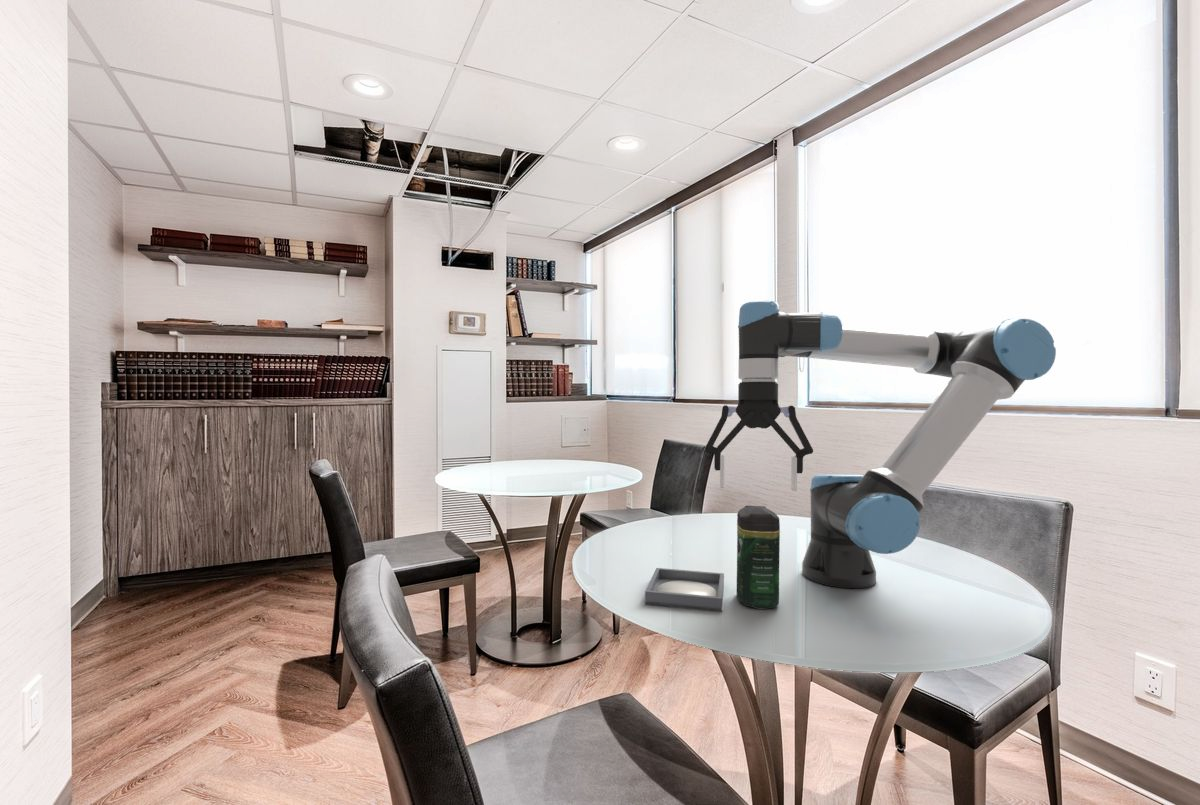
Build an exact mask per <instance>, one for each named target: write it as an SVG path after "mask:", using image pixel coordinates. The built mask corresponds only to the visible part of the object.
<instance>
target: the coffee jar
mask: <svg viewBox="0 0 1200 805" xmlns="http://www.w3.org/2000/svg"><path fill="white" fill-rule="evenodd" d="M736 515H737V518H736V519H737V520H736V526H737V527H736V530H737V531H736V535H737V536H736V537H737V538H736V540H737V541H736V543H737V544H736V549H737V550H736V596H737V598H738V601H739V602H740V603H741V604H742V605H743V606H745V607H746V606H747V607H752V608H754V609H759V610H766V609H770V608H771V609H772V608H776V607H778V606H779V603H780V552H781V550H780V543H781V542H780V541H781V537H780V535H781V534H780V533H781V530H780V529H781V528H780V526H781V525H780V517H779V516H778V515H777V514H776V513H775V512H774V511H773V510H770V509H769V508H767V507H766V506H763V505H745V506H744V507H742V508H740V509H739V510H738V512H737V514H736Z"/></svg>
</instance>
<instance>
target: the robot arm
mask: <svg viewBox="0 0 1200 805" xmlns="http://www.w3.org/2000/svg"><path fill="white" fill-rule="evenodd" d="M738 315H739V316H738V326H737V328H738V372H737V374H738V377H737V378H738V379H739V380H741V382H739V383H738V384H737V385H738V390H737V391H738V393H737V394H738V399H737V400H738V403H737V406H730V405H727V404H725V405H723V406H722V409H721V416H720V418H719V420H718V422H717V424H716V425H715V428H714V430H713V431H712V433H711V435H710V437H709V439H708V441H707V443H706V446H704V447H705V451H707V452H709V453H712V454H713V455H714V459H713V460H714V468H713V469H714V470H715V471H719V472H720V473H719V478H720V479H719V488H720V489H724V488H725V460H726V459H725V458H726V457H725V453H722V452H723V451H724V450H725V448H727V446H728V445H730V443H731V442H732V441H733V439H735V437H736V436H737V435H738V434H739V433H740V432H741V431H742V430H743V429H744V428H745V426H746V427H747V428H749V429H756V428H760V429H765V430H766V429H768V428H769V427H771V428H772V429H773V430H774V431H775V432H776V433H777V435H778V436H779V437H780V438H781V439H782V440H783V441H784V443H785V444H787V446H788V447H789V448H790V449H791V450H792V451H793V453H794V454H795V455H791V457H790V458H791V460H790V462H791V463H790V464H791V466H790V468H791V472H790V473H791V474H790V475H791V476H790V480H791V481H790V482H791V484H790V488H791V491H792V492H798V491H797V490H798V489H797V488H798V486H797V484H798V474H802V473H803V472H804V457H805V456H807V455H812V454H813V453H814V449H813V446H812V445H811V443H810V441H809V439H808V437H807V435H806V433H805V431H804V430H803V427H802V426H801V424H800V422H799V420H798V418H797V414H796V413H797V412H796V407H795V406H793V405H789V406H781V407H780V406H779V383H778V382H776V380H777V379H779V358H785V357H796V358H808V359H818V360H826V361H828V360H829V361H840V362H847V363H849V362H850V363H857V364H858V363H860V364H868V365H869V364H870V365H878V366H879V365H880V366H891V367H901V368H903V367H904V368H909V369H910V368H911V369H913V370H914V371H915V372H916V373H918V374H926V375H934V376H940V377H945V378H951V379H950V380H949V381H948V383H947V384H946V385H945V387H944V388H943V389H942V390H941V391H940V393H939V394H938V395H937V397H936V398H935V399H934V400H933V401H932V403H931V404H930V405H929V407H928V408H927V409H926V411H924V413H923V414H922V415H921V416H920V418H919V419H918V420H917V422H916V423H915V424H914V425H913V427H912V428H911V429H910V431H909V432H908V433H907V434H906V436H905V437H904V438H903V439H902V440H901V442H900V443H899V444H898V446H897V447H896V448H895V449H894V451H893V452H891V455H890V456H889V457H888V458H887V460H886V461H885V462H884V463H883V465H882V466H881V467H880V468H879V467H878V468H874V469H873V468H872V469H868V470H867V471H866V473H865V474H816V475H814V476H813V477H812V478H811V483H810V489H809V492H810V540H809V543H808V546H807V549H806V551H805V555H804V557H803V560H802V564H801V565H802V566H801V568H802V569H801V570H802V571H801V573H802V575H803V576H804V577H805V578H807V579H808V580H810V581H813V582H816V583H818V584H821V585H825V586H830V587H836V588H841V589H842V588H844V589H862V588H863V589H864V588H869V587H872V586H875V584H877V571H876V568H875V564H874V560H873V558H872V555H871V553H870V552H872V553H876V554H883V555H890V554H895V553H896V554H897V553H898V552H901V551H903V550H905V549H907V548H908V547H909V546H910V545H912V543H913V542H914V541H915V540H916V538H917V537H918V535H919V531H920V527H921V526H920V523H919V522H920V521H921V520H920V515H919V514H920V513H921V512H922V510H923V508H924V506H925V504H924V499H923V494H924V493H925V492H926V491H927V489H928V488H929V487H930V486H931V484H932V483H933V481H934V480H935V479H936V478H937V476H938V475H939V474H940V473H941V471H942V470H943V469H944V468H945V466H946V465H947V464H948V463H949V461H950V460H951V459H952V458H953V456H954V455H955V454H956V453H957V451H958V450H959V449H960V447H961V446H962V445H963V444H964V442H965V441H966V440H967V439H968V437H970V435H971V434H972V432H974V430H975V428H976V427H977V426H978V425H979V423H980V422H981V421H982V420H983V418H984V417H985V416H986V415H987V414H988V412H989V411H990V410H991V408H992V407H993V406H994V405H995V403H996V402H997V401H999V400H1006V399H1010V398H1012V397H1013V396H1014V395H1015V393H1016V391H1017V390H1018V389H1019V388H1020V387H1021V386H1022V384H1023V383H1024V382H1025V381H1032V380H1036V379H1038V378H1041V377H1042V376H1044V375H1046V374H1047V373H1049V371H1050V370H1051V368H1052V367H1053V365H1054V363H1055V360H1056V355H1057V350H1056V348H1057V347H1055V344H1054V343H1055V340H1054V338H1053V336H1052V334H1051V332H1049V330H1048V329H1047V328H1046V327H1045V326H1044V325H1043V324H1041V323H1040V322H1038V321H1036V320H1033V319H1029V318H1007V319H1004V320H1002V321H998V322H992V323H985V324H980V325H973V326H967V327H962V328H956V329H947V330H932V329H931V330H929V329H927V330H926V329H925V330H923V331H921V332H920V333H910V332H901V331H891V330H880V329H879V330H878V329H870V328H860V327H859V328H858V327H850V326H849V327H848V326H843V322H842V320H841V318H840V316H839V315H838V314H836V313H833V312H832V313H831V312H823V311H819V312H783V311H780V306H779V304H778V302H776V301H774V300H773V301H772V300H771V301H770V300H754V301H747V302H745V303H743V304H742V305H741V306H740V307H739V314H738ZM734 413H736V415H737V416H738V417H739V419H740V420H739V421H738V423H737V424H736V425H735V426H734V427H733V428H732V430H731V431H730V432H729V433H728V434H727V435H726V436H725V437H724V438H723V440H722V441H721V442H720V443H719V444H718V445H717V446H714V445H715V443H716V441H717V439H718V437H719V435H720V433H721V431H722V429H723V427H724V426H725V424H726V422H727V420H728V418H730V417H732V416H733V415H734ZM781 413H782V414H783V415H784V417H785V418H788V419H789V422H790V424H791V426H792V427H793V430H794V432H795V434H796V436H797V438H798V439H799V442H800V443H801V445H802V448H800V447H799V446H798V445H797V444H796V443H795V442H794V441H793V439H792V438H791V437H790V436H789V435H788V434H787V432H786V431H785V430H784V429H783V428H782V427H781V425H780V424H779V423H778V422H777V419H778V417H780V415H781Z"/></svg>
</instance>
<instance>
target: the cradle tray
mask: <svg viewBox="0 0 1200 805" xmlns="http://www.w3.org/2000/svg"><path fill="white" fill-rule="evenodd" d="M724 589H725V573H723V572H711V571H700V570H689V569H688V570H687V569H686V570H685V569H675V568H662V567H656V568H655V570H654V573H653V575H652V577H651V579H650V580H649V583H648V585H647V587H646V589H645V591H644V593H645V595H644V596H645V597H644V598H645V599H644V600H645V601H644V602H645V603H644V604H645V605H648V604H651V605H650V606H659V607H660V606H661V607H668V608H669V607H670V608H678V609H679V608H681V609H689V610H699V611H700V610H701V611H710V612H716V613H717V612H718V613H722V612H723V603H724V602H723V601H724Z"/></svg>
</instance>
